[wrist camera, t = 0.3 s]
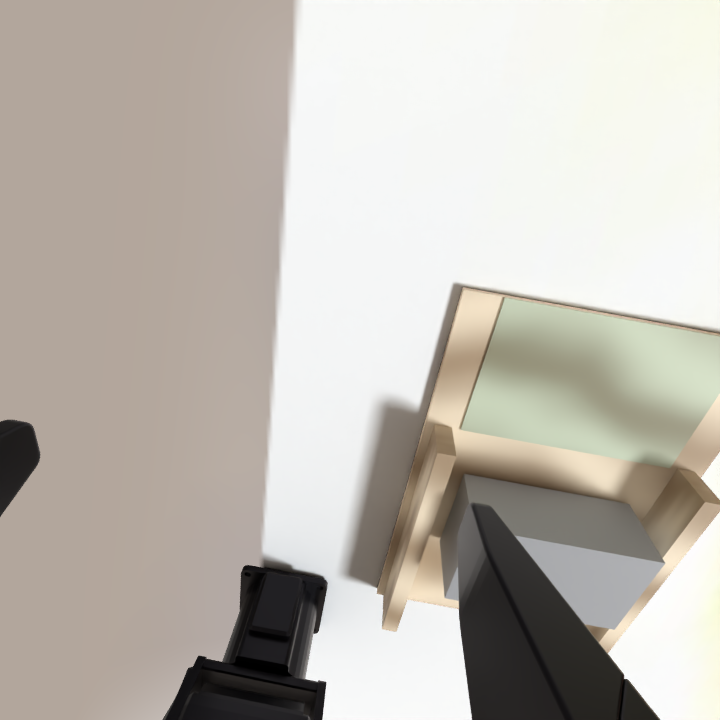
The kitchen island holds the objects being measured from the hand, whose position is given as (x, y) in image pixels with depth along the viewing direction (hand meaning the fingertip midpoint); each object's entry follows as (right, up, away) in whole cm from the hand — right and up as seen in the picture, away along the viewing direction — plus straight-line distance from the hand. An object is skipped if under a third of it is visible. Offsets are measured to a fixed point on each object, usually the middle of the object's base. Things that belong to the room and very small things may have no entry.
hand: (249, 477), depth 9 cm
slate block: (+13, -8, +19) cm, 24 cm away
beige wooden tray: (+13, -6, +18) cm, 23 cm away
